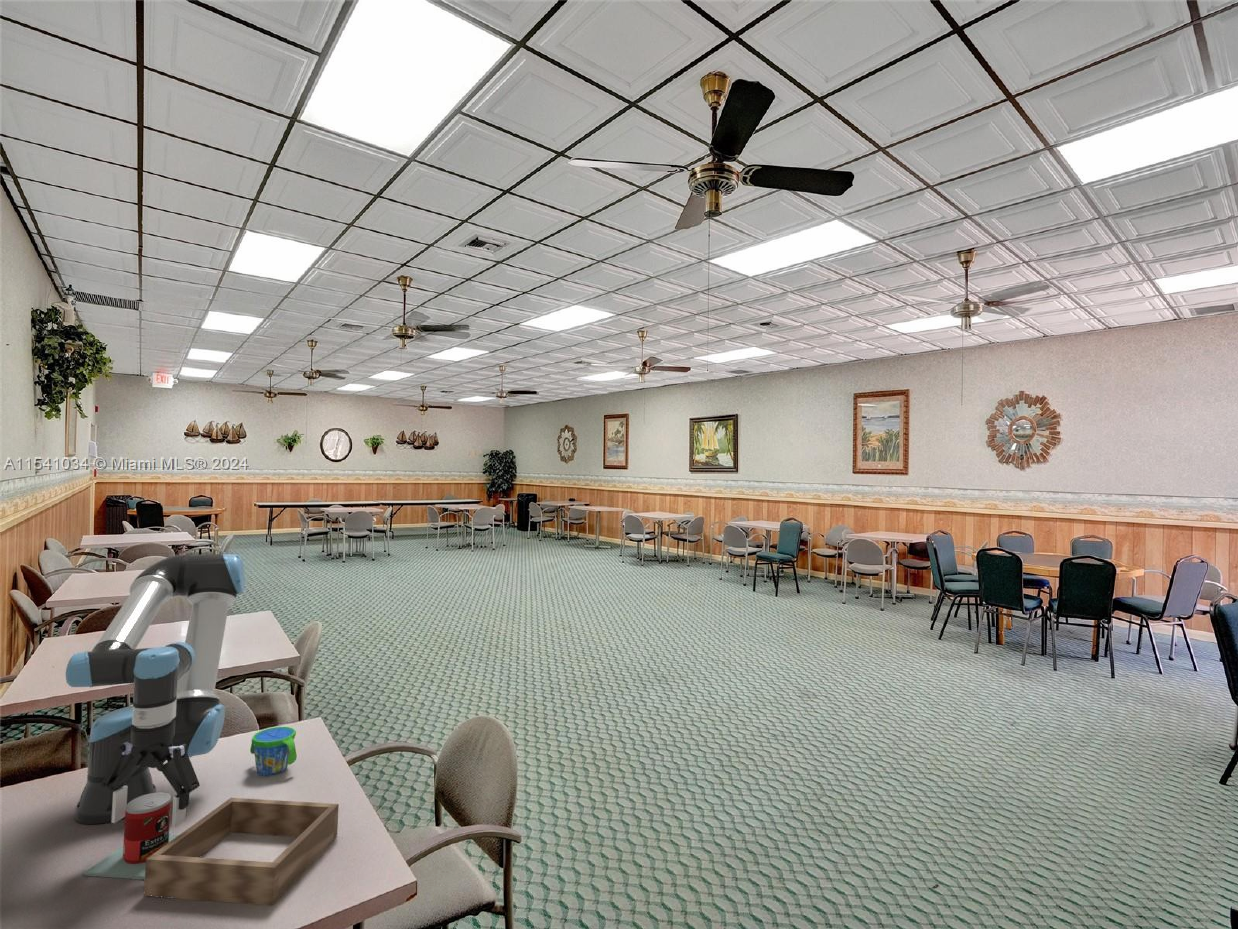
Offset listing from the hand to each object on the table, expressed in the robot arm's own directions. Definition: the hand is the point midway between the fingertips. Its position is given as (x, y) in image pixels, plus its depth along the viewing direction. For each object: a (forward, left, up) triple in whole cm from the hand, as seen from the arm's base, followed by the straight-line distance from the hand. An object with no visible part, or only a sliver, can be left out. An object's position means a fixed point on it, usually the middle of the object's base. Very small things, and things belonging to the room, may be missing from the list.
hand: (148, 821), depth 127 cm
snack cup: (+2, +39, -7) cm, 39 cm away
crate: (+23, 0, -7) cm, 24 cm away
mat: (0, 0, -7) cm, 7 cm away
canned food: (0, 0, -7) cm, 7 cm away
